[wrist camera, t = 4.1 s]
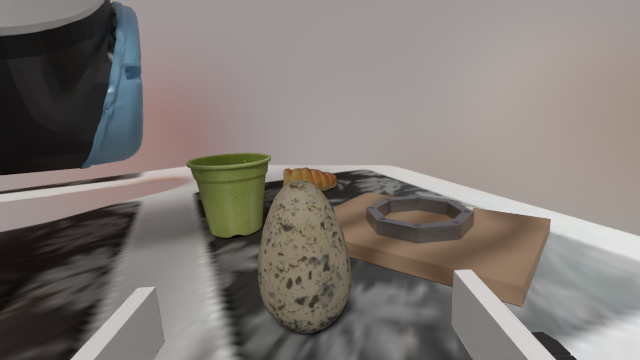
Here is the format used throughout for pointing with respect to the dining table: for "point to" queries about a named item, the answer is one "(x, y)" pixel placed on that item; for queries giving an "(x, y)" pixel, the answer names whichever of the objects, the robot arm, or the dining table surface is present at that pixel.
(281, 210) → the decorative egg
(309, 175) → the pastry
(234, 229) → the plant pot
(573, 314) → the dining table surface
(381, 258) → the walnut board
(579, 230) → the dining table surface
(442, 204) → the ring socket
